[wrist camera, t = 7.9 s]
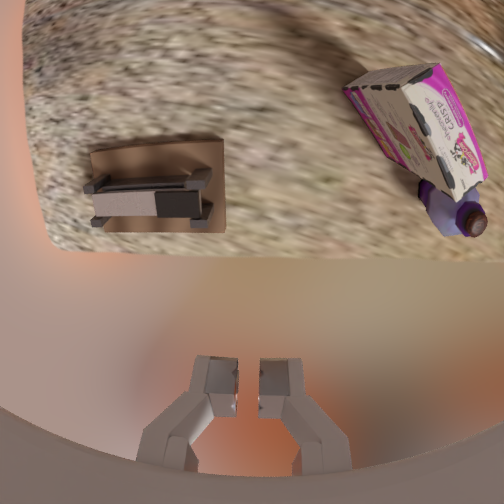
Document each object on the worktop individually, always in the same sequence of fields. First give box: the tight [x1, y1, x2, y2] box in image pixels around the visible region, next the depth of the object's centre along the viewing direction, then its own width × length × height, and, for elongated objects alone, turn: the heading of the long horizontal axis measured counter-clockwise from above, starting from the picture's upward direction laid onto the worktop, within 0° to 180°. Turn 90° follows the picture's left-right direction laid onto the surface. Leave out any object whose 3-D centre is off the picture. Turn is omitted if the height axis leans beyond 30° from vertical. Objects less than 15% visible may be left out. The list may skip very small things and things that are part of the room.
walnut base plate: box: [90, 139, 226, 233], centre depth 36 cm, size 18×12×2 cm, turn 90°
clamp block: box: [83, 168, 214, 228], centre depth 33 cm, size 16×6×5 cm, turn 90°
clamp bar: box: [92, 188, 202, 218], centre depth 31 cm, size 14×3×1 cm, turn 90°
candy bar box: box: [342, 63, 489, 202], centre depth 23 cm, size 11×5×16 cm, turn 40°
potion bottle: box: [418, 179, 488, 237], centre depth 30 cm, size 9×9×12 cm
